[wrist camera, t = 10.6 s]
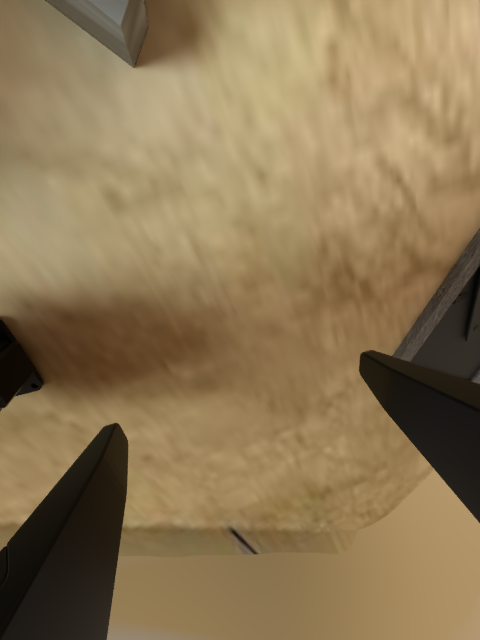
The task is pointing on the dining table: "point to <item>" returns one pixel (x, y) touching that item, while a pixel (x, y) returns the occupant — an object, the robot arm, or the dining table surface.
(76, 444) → the dining table surface
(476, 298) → the picture frame
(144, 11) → the rail
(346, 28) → the dining table surface
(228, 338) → the dining table surface
